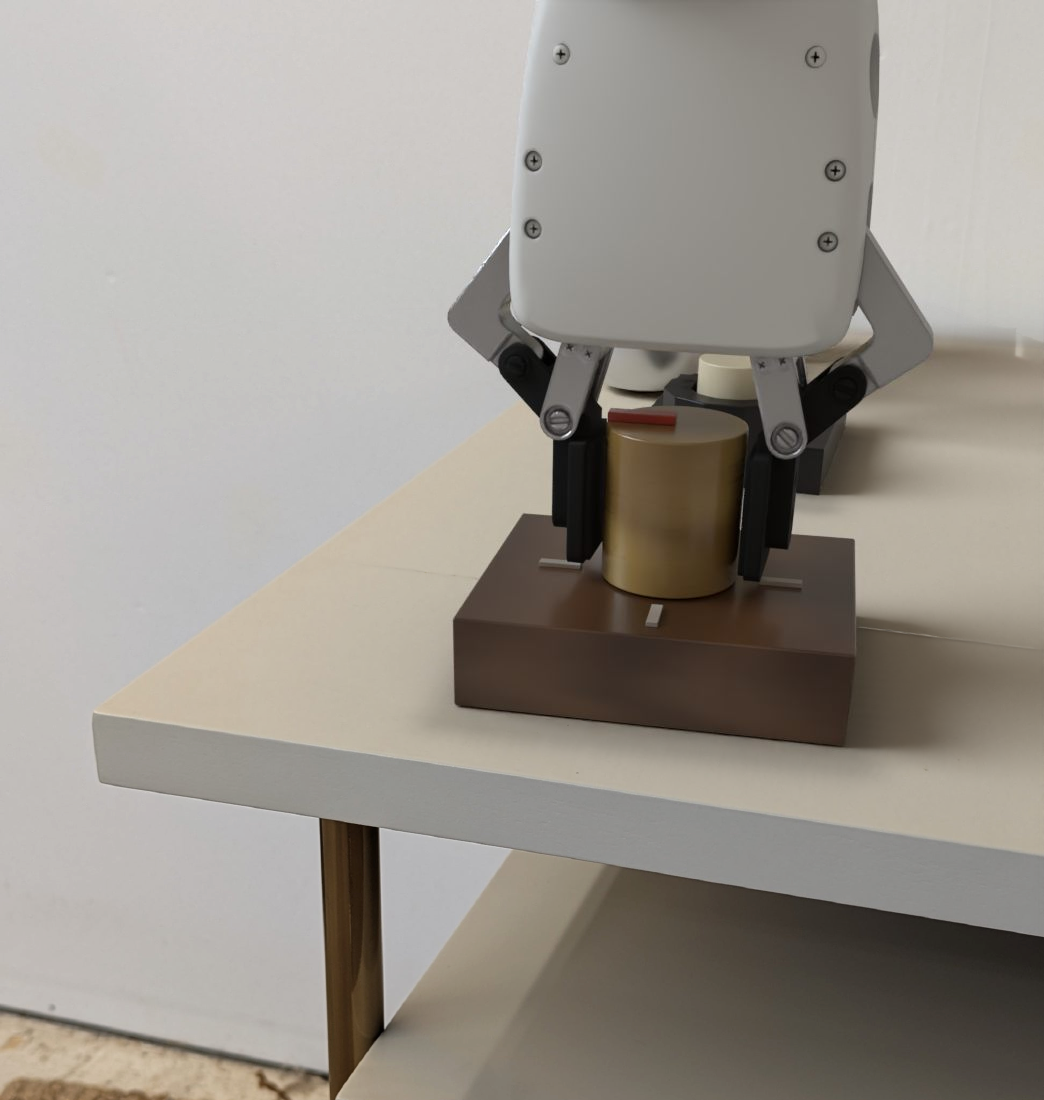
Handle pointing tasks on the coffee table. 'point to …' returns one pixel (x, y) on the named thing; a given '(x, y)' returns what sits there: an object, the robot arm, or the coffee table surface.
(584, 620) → the dimmer panel
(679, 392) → the black button base
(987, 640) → the coffee table surface
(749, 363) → the button
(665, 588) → the dimmer knob
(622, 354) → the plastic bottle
